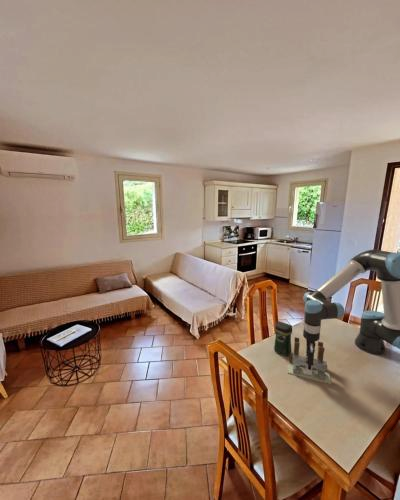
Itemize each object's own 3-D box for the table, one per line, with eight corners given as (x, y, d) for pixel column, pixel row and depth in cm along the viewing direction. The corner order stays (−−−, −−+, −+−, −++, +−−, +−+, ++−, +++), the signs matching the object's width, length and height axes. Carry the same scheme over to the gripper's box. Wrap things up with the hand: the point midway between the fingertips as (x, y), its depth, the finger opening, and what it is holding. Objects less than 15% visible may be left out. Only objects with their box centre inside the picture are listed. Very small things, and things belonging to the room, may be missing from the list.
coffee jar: (293, 352, 134) (294, 324, 131) (287, 358, 129) (289, 329, 125) (277, 345, 141) (279, 318, 138) (272, 351, 135) (273, 323, 132)
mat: (328, 374, 116) (329, 369, 115) (331, 383, 109) (331, 378, 109) (288, 364, 123) (288, 359, 123) (287, 373, 117) (288, 368, 116)
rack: (324, 364, 123) (326, 343, 120) (326, 371, 118) (328, 349, 115) (290, 357, 130) (291, 336, 127) (290, 363, 124) (291, 341, 122)
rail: (325, 366, 114) (326, 361, 113) (326, 371, 111) (327, 365, 110) (292, 359, 120) (292, 354, 119) (292, 363, 117) (292, 357, 116)
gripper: (302, 321, 121) (300, 360, 125) (304, 337, 106) (301, 380, 110) (318, 324, 118) (315, 363, 122) (322, 340, 103) (318, 384, 107)
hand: (308, 371), depth 116 cm, fingers closed on rail, 3 cm apart
